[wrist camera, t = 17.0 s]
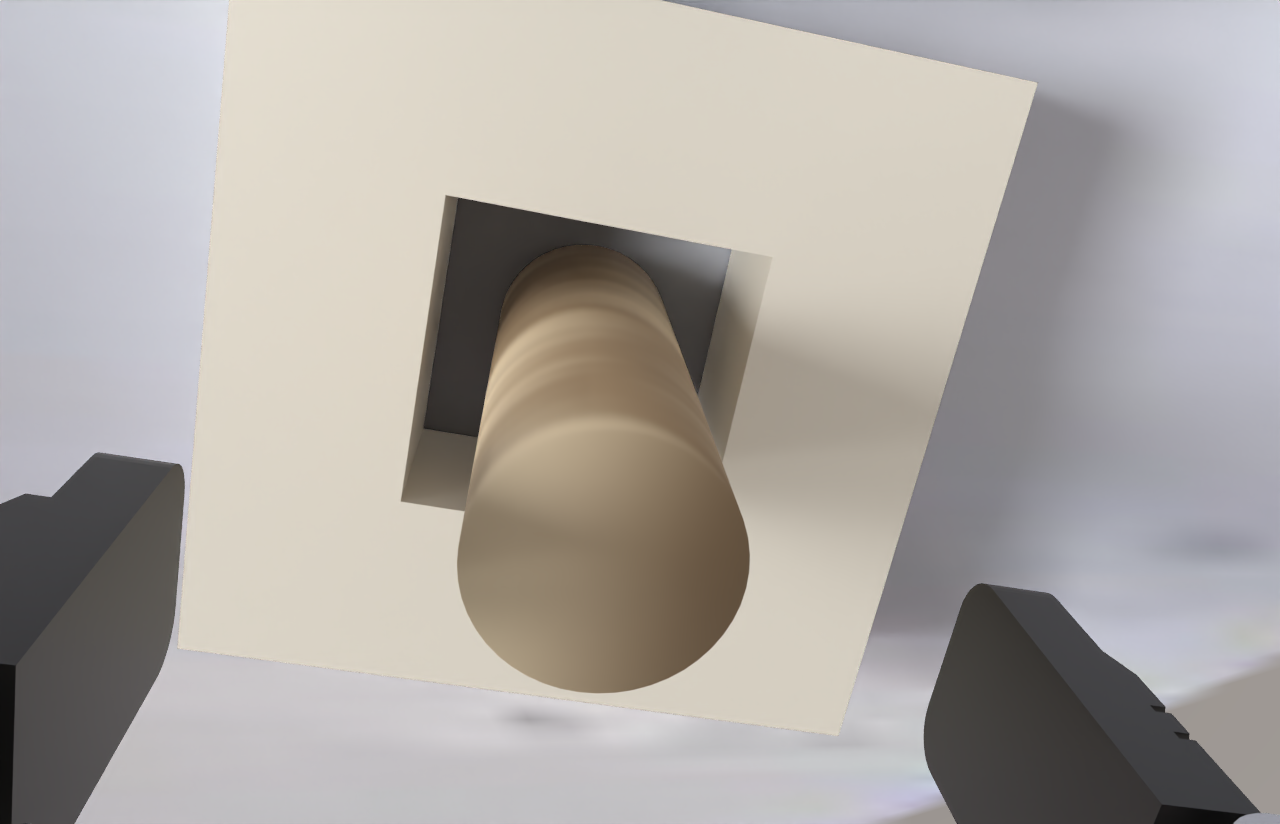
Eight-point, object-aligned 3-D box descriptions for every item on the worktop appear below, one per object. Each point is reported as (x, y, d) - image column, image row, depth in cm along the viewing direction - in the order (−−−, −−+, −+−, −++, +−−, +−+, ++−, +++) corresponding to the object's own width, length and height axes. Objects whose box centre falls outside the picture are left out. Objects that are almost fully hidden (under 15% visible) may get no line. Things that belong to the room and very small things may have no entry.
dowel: (487, 390, 22) (437, 674, 13) (514, 230, 21) (481, 407, 12) (647, 417, 22) (715, 710, 13) (681, 261, 21) (780, 457, 12)
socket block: (231, 555, 23) (177, 648, 19) (292, -76, 19) (236, -93, 16) (800, 638, 24) (838, 735, 21) (960, 71, 21) (1038, 82, 17)
